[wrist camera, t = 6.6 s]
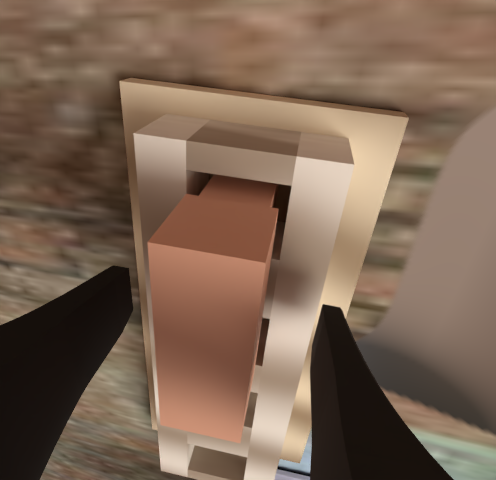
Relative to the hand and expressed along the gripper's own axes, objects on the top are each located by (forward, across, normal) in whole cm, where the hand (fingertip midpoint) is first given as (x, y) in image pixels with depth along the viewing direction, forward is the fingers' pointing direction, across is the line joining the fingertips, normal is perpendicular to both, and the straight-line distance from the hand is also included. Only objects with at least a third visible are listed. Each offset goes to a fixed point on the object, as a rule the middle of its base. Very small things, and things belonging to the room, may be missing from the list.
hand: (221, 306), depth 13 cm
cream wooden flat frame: (+5, 0, +6) cm, 8 cm away
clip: (+4, 0, 0) cm, 4 cm away
